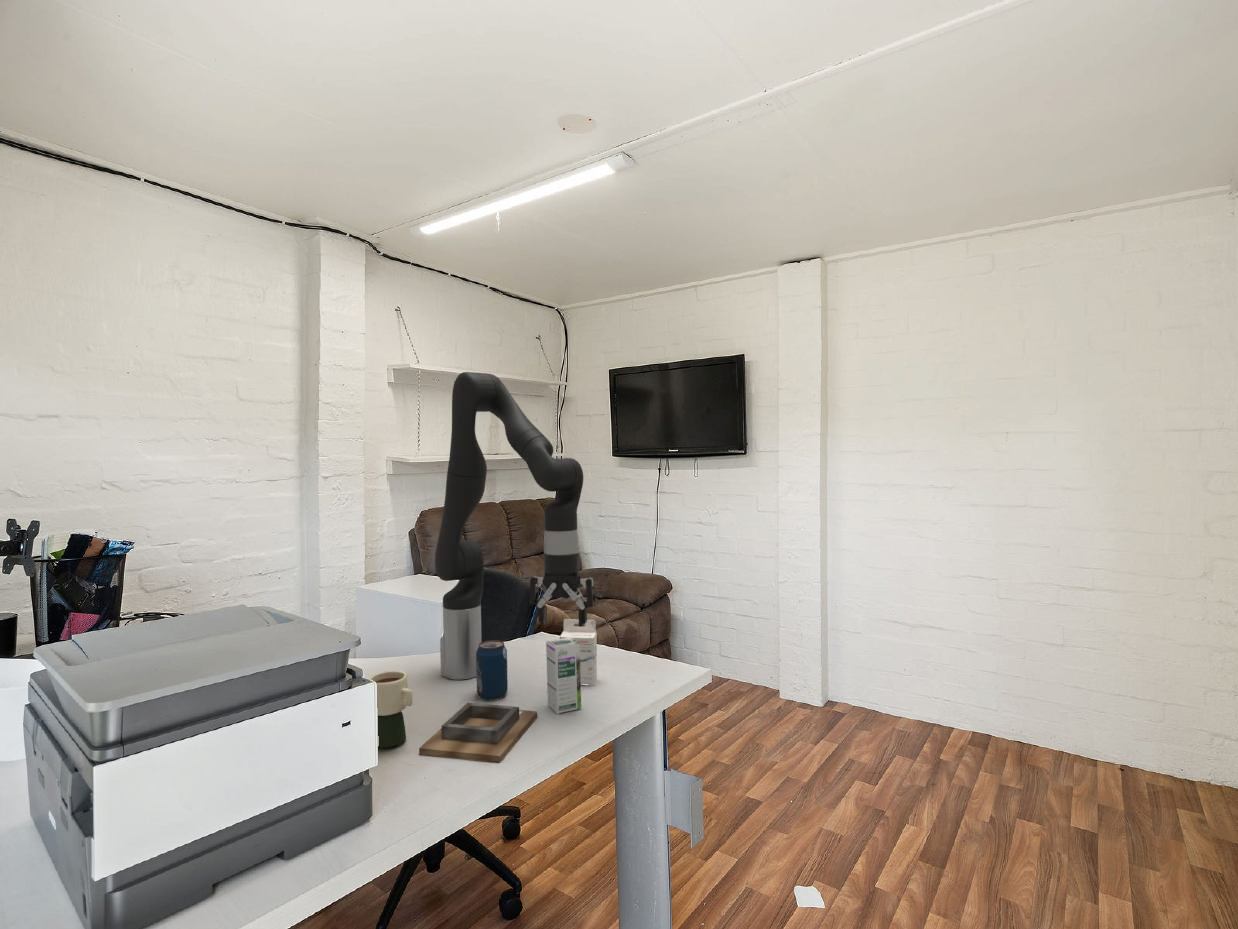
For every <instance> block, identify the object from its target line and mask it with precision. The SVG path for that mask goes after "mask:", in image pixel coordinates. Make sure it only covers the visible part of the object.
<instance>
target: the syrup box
mask: <svg viewBox="0 0 1238 929" xmlns="http://www.w3.org/2000/svg"><path fill="white" fill-rule="evenodd" d="M545 645H546V646H545V647H546V652H545V654H546V655H545V656H546V679H547V680H546V682H547V683H546V686H547V688H546V689H547V690H546V691H547V705H548V707H549V708H550V709H551V708H552V709H551V710H552V711H553V712H554V713H555V714H557V715H559V714H562V713H565V712H571V711H575V710H581V709H582V693H581V692H582V690H581V686H582V685H581V678H580V644H579V643H578V642H577V641H576V640H574V639H573V638H570V637H569V638H564V639H560V638H559V639H553V640H547V641H546V642H545Z"/></svg>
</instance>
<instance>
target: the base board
mask: <svg viewBox="0 0 1238 929" xmlns="http://www.w3.org/2000/svg"><path fill="white" fill-rule="evenodd" d="M537 718H538V711H537V710H525V709H520V706H513V705H503V704H502V705H501V704H500V705H499V704H488V703H487V704H486V703H474V702H467V703H465V704H464V705H463V706H461V708H460V709H459V710H458V711H457V712H455V713H454V714H453V715H452V716H451V717H450V718H448V720H446V721H445V722H444V723H443V724H442V725H441V726H440V727H441V728H439V730H437V731H436V733H434V734H433V735H432V736H431V737H430V738H429V739H427V741H425V742H424V743H423V744H422V745H420V746H419V748H418V750H419V751H418V754H419V755H421V756H429V757H430V756H433V757H441V758H450V759H460V760H461V759H462V760H470V761H481V762H490V763H491V762H492V763H501V762H502V761H503V759H505V757H506V756H507V755H508V753H510V751H511V750H512V749H513V747H514V746H515V745H516V744H517V743H518V742H519V740H520V739H521V737H522V736H523V735H524V734H525V733H526V732H527V730H528V729H529V728H530V727H531V726H532V724H533V723H534V722H535V720H536V719H537Z"/></svg>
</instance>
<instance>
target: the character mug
mask: <svg viewBox="0 0 1238 929" xmlns="http://www.w3.org/2000/svg"><path fill="white" fill-rule="evenodd" d="M369 679H370V680H373V681H375V682H376V684H377V708H378V736H379V747H378V748H390V747H392V746H396V745H398V744H400V743H402V742H404V741H406V740H407V734H406V725H405V719H404V713H403V712H402V711H404V710H405V709H406V708H407V707H410V706H411V707H412V704H413V690H412V689H411V688H409V686H408V674H407V673H406V672H405V671H402V670H388V671H381V672H378V673H374V674H373V675H371V676H369V677H368V680H369Z"/></svg>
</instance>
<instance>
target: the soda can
mask: <svg viewBox="0 0 1238 929" xmlns="http://www.w3.org/2000/svg"><path fill="white" fill-rule="evenodd" d="M508 679H509V678H508V650H507V648H506V646H505V642H504V641H502V640H497V639H496V640H495V639H494V640H493V639H492V640H491V639H490V640H485V641H481V643H480V644H479V647H478V649H477V652H476V694H477V695H478V697H479V698H480V699H481V700H482V699H483V701H487V702H488V701H491V700H493V701H498V700H500V698H501V699H503V698H504V697H505V696H506V694H507V692H508V689H509V688H508V685H509V684H508ZM502 697H503V698H502ZM497 699H498V700H497Z"/></svg>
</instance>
